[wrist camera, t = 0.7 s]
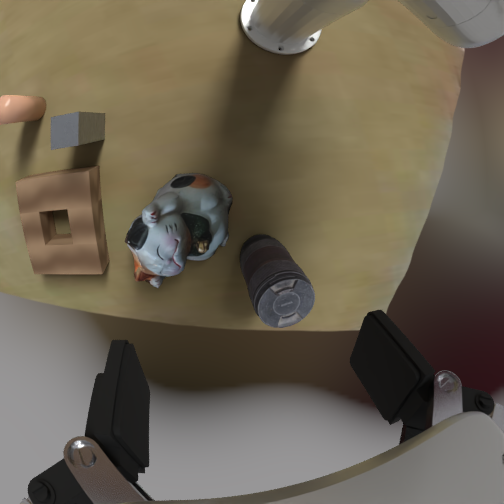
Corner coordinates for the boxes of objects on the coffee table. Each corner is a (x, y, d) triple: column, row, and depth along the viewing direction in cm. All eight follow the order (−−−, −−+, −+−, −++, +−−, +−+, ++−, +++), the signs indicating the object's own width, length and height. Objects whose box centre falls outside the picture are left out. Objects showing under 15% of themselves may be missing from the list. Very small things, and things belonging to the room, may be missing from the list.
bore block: (29, 175, 32) (15, 181, 28) (99, 165, 34) (88, 171, 31) (44, 261, 39) (34, 273, 35) (109, 260, 41) (102, 274, 38)
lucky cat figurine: (223, 260, 46) (187, 322, 35) (161, 234, 46) (115, 286, 36) (244, 181, 36) (200, 237, 25) (168, 156, 37) (105, 198, 26)
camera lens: (287, 262, 49) (321, 315, 35) (245, 278, 48) (265, 337, 35) (276, 223, 45) (311, 268, 32) (230, 240, 44) (246, 293, 31)
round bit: (28, 99, 26) (-7, 99, 17) (46, 94, 27) (12, 91, 18) (27, 122, 28) (-8, 127, 19) (45, 118, 28) (10, 120, 20)
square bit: (81, 116, 30) (51, 117, 22) (105, 113, 31) (78, 111, 22) (81, 142, 32) (51, 149, 23) (104, 139, 33) (78, 145, 24)
